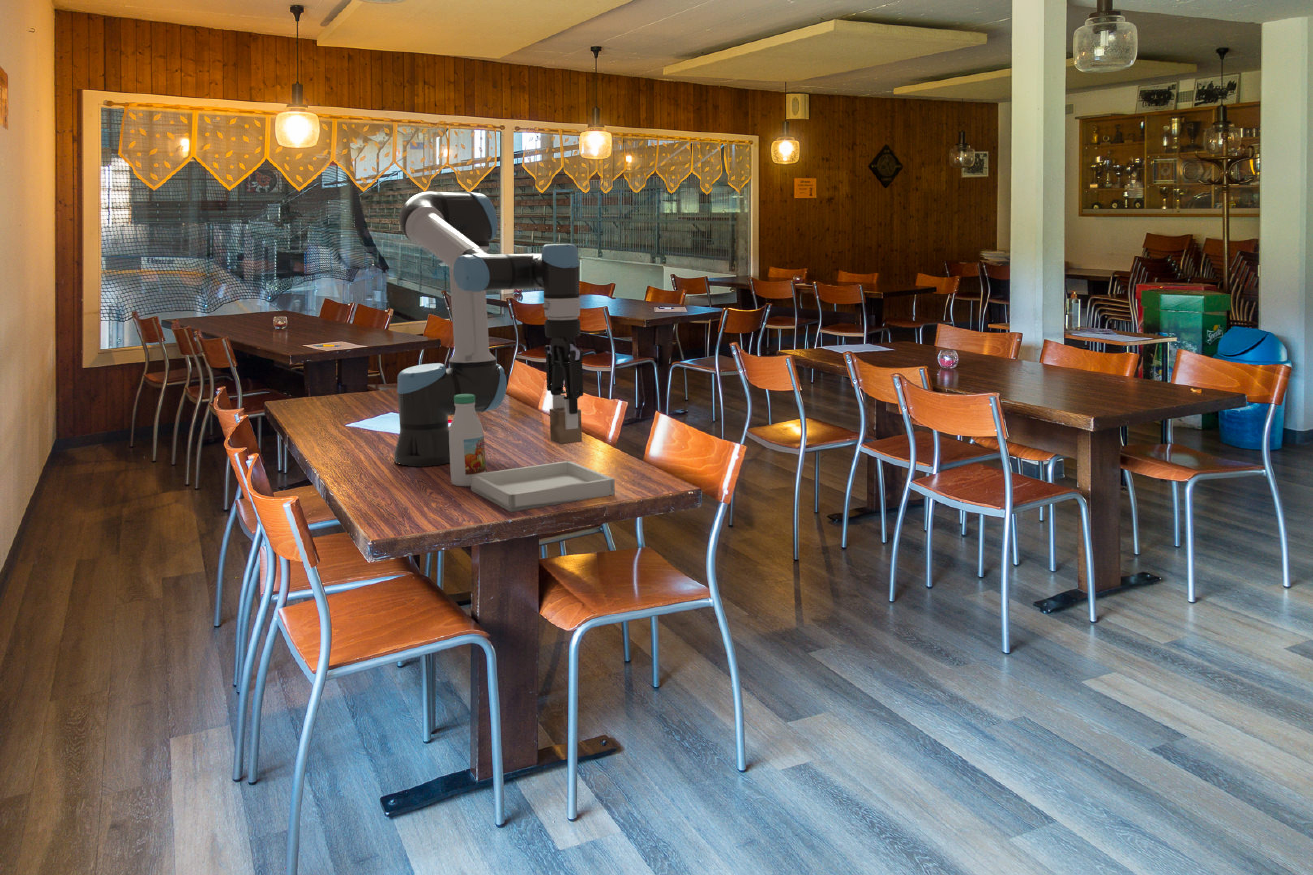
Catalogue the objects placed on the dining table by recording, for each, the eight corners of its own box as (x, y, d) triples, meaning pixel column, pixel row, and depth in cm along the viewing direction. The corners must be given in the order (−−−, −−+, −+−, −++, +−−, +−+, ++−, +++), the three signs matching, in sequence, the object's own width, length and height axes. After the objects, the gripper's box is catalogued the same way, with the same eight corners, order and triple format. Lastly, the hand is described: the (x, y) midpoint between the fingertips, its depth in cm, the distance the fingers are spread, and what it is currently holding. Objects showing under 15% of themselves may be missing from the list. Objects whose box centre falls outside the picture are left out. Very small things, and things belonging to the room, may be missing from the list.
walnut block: (550, 440, 217) (549, 409, 216) (571, 438, 220) (570, 406, 219) (561, 444, 213) (560, 412, 212) (581, 441, 216) (580, 409, 215)
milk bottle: (452, 488, 220) (447, 398, 216) (449, 480, 227) (445, 393, 223) (487, 485, 222) (483, 396, 218) (484, 477, 229) (480, 391, 225)
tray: (471, 490, 218) (470, 474, 218) (569, 475, 231) (569, 460, 230) (510, 512, 201) (510, 495, 200) (614, 494, 213) (614, 478, 213)
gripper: (527, 316, 217) (532, 422, 222) (565, 321, 202) (569, 435, 207) (559, 315, 221) (562, 418, 226) (598, 319, 206) (601, 431, 211)
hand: (565, 426), depth 216 cm, fingers closed on walnut block, 5 cm apart
